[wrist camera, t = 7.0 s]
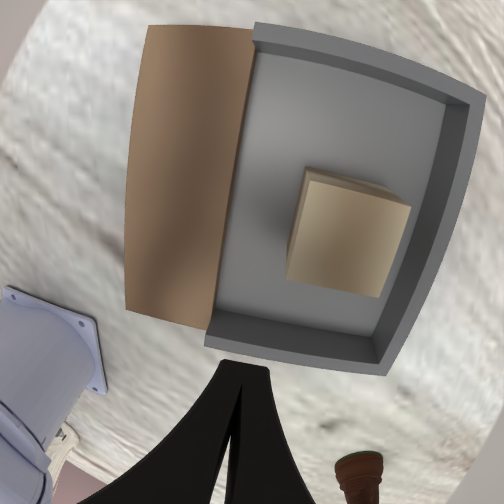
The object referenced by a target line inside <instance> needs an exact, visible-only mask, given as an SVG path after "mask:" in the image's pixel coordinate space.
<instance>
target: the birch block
mask: <svg viewBox="0 0 504 504" xmlns="http://www.w3.org/2000/svg"><path fill="white" fill-rule="evenodd" d="M410 210H411V206H410V205H408V204H407V203H406V202H405V201H403V200H402V199H401V198H400V197H398V196H397V195H396V194H394V193H393V192H392V191H390V190H389V189H388V188H387V187H384V186H381V185H377V184H373V183H370V182H366V181H363V180H359V179H355V178H351V177H347V176H343V175H339V174H335V173H331V172H327V171H323V170H319V169H315V168H310V167H306V166H305V169H304V173H303V178H302V182H301V186H300V191H299V195H298V200H297V204H296V208H295V213H294V217H293V221H292V225H291V230H290V234H289V238H288V242H287V252H286V280H290V281H295V282H300V283H305V284H310V285H315V286H320V287H325V288H330V289H335V290H340V291H345V292H350V293H355V294H360V295H366V296H371V297H376V298H379V296H380V294H381V291H382V289H383V286H384V284H385V281H386V279H387V276H388V273H389V271H390V268H391V265H392V263H393V260H394V257H395V254H396V252H397V249H398V246H399V243H400V240H401V237H402V234H403V231H404V228H405V225H406V222H407V219H408V216H409V213H410Z"/></svg>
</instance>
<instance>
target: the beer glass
mask: <svg viewBox="0 0 504 504" xmlns="http://www.w3.org/2000/svg"><path fill="white" fill-rule="evenodd" d="M79 441H80V439H79V437H78V435H77V433H76V432H75V431H74V430H73V429H72V428H71V427H70V426H69V425H68V424H67V423H66V422H63V424H62V426H61V427H60V429H59V431H58V432H57V434H56V436H55V437H54V439H53V440H52V442H51V444H50V446H49V447H48V449H47V451H46V452H45V454H46V455H47V456H48V457H49V458H50V459H51V460H52V462H51V464H50V465H49V467H48V469H47V470H48V471H49V472H50V474H51V476H52V479H53V497H54V495H55V491H56V487H57V484H58V480H59V476H60V473H61V470H62V467H63V464H64V462H65V460H66V458H67V457H68V455H69V454H70V453H71V452H72V450H73V449H74V448H75V447H76V446H77V445H78V444H79ZM52 501H53V500H52Z"/></svg>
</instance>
